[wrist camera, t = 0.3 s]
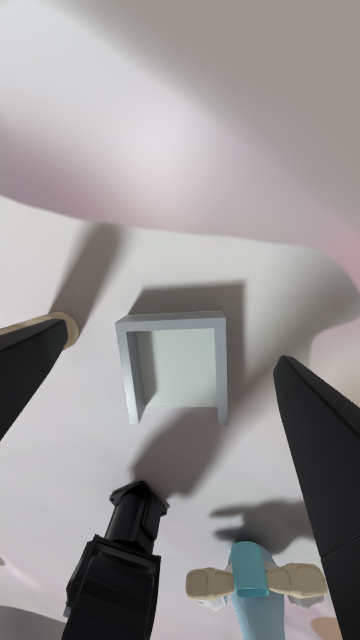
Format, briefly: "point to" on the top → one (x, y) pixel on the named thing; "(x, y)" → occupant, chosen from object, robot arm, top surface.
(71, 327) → the red-capped cream cylinder
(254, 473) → the top surface
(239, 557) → the light blue winged piece
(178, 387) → the tray
